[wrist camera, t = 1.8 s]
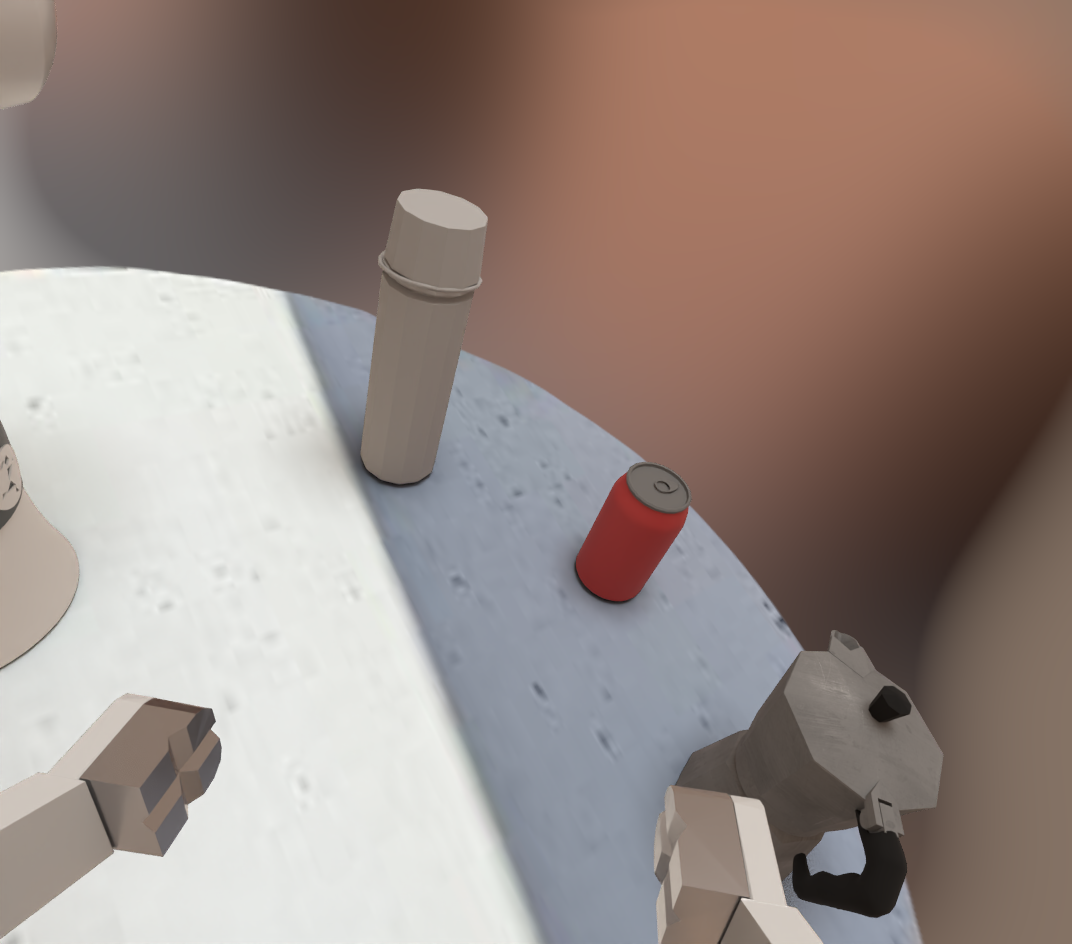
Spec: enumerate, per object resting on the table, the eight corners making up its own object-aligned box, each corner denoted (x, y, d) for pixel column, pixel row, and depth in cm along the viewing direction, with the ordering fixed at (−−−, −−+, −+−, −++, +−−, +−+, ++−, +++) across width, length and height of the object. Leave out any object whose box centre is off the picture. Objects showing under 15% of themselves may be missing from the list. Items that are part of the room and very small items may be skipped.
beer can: (652, 599, 56) (713, 512, 48) (590, 610, 53) (644, 519, 45) (621, 543, 60) (672, 455, 52) (562, 550, 57) (607, 458, 49)
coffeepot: (675, 708, 48) (802, 571, 36) (786, 751, 48) (949, 628, 36) (659, 938, 36) (839, 847, 25) (805, 996, 36) (1054, 931, 25)
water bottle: (441, 491, 58) (503, 242, 42) (355, 487, 55) (387, 219, 39) (433, 428, 64) (484, 190, 48) (356, 422, 62) (383, 168, 45)
